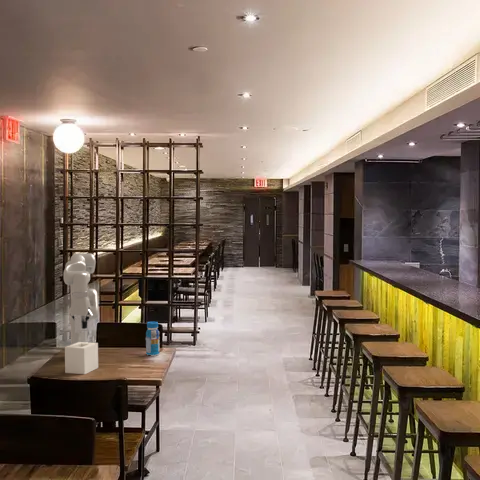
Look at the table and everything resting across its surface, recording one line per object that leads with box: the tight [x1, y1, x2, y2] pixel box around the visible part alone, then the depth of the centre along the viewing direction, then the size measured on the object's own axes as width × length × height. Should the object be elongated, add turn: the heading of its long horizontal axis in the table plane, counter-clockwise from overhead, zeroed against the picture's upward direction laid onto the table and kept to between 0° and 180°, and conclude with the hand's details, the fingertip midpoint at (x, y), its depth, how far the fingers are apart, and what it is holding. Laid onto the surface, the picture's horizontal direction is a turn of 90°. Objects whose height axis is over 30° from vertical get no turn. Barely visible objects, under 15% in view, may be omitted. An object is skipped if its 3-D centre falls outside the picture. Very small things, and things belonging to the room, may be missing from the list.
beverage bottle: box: [145, 321, 161, 357], centre depth 358 cm, size 8×8×20 cm
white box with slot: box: [64, 341, 99, 375], centre depth 322 cm, size 12×14×14 cm
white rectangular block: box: [75, 314, 88, 333], centre depth 322 cm, size 4×6×10 cm, turn 163°
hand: (81, 327), depth 322 cm, fingers closed on white rectangular block, 4 cm apart
